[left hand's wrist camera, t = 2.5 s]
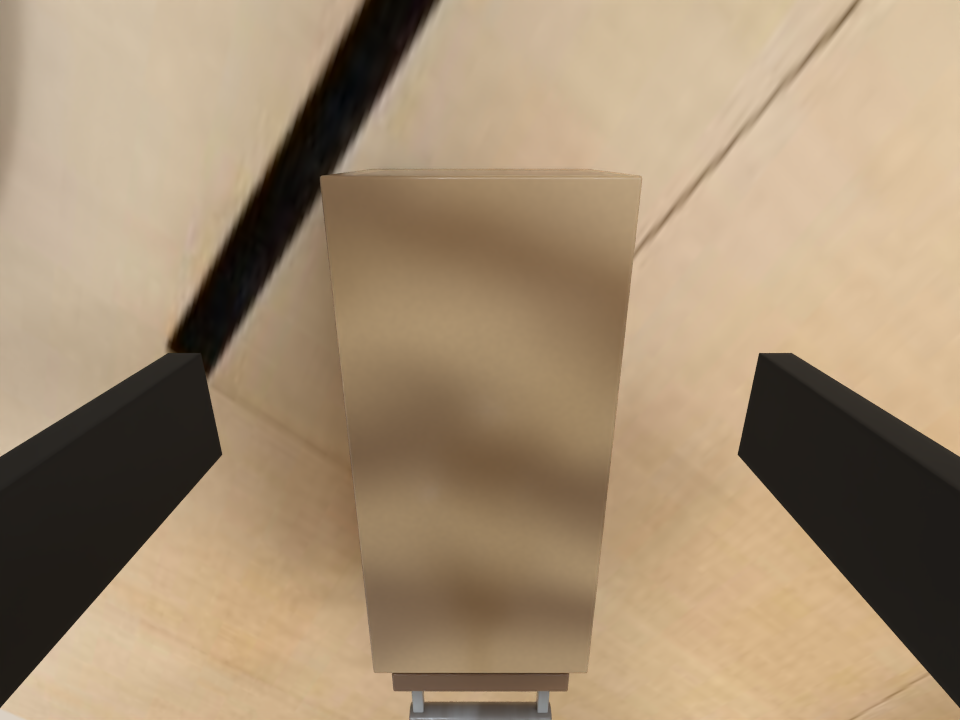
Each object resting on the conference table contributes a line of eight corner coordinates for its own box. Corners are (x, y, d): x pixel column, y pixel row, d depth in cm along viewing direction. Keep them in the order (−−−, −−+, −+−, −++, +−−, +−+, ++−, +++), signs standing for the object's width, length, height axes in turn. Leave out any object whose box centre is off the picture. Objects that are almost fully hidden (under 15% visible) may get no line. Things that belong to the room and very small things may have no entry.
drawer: (546, 664, 33) (560, 770, 27) (414, 664, 33) (400, 770, 27) (575, 254, 23) (605, 287, 18) (386, 254, 23) (356, 286, 18)
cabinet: (561, 549, 31) (587, 674, 23) (399, 549, 31) (373, 673, 23) (590, 169, 23) (643, 175, 15) (371, 169, 23) (318, 175, 15)
